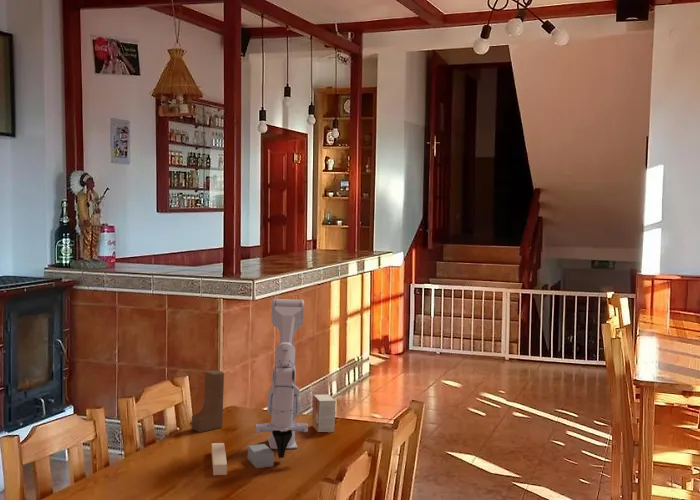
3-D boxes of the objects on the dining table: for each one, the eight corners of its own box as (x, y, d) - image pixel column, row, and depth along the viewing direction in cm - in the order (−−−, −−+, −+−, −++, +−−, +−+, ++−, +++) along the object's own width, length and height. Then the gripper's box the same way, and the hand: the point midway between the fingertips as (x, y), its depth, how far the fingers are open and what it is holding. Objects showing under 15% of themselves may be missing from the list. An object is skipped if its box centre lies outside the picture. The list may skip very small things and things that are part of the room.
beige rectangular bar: (211, 452, 220) (211, 443, 220) (223, 452, 221) (224, 443, 221) (213, 475, 202) (213, 464, 202) (226, 474, 203) (227, 464, 203)
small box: (311, 425, 251) (312, 394, 250) (327, 425, 252) (329, 393, 252) (317, 433, 243) (319, 400, 242) (334, 432, 245) (336, 400, 244)
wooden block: (199, 432, 238) (200, 376, 237) (190, 429, 241) (192, 373, 240) (222, 427, 244) (224, 372, 243) (214, 424, 248) (216, 369, 246)
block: (247, 459, 217) (248, 445, 216) (264, 457, 219) (264, 443, 218) (256, 468, 209) (256, 454, 209) (273, 466, 211) (273, 452, 211)
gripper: (258, 413, 209) (256, 462, 210) (310, 412, 212) (308, 460, 213) (255, 406, 216) (254, 453, 217) (306, 406, 219) (304, 452, 220)
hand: (280, 456), depth 215 cm, fingers closed
